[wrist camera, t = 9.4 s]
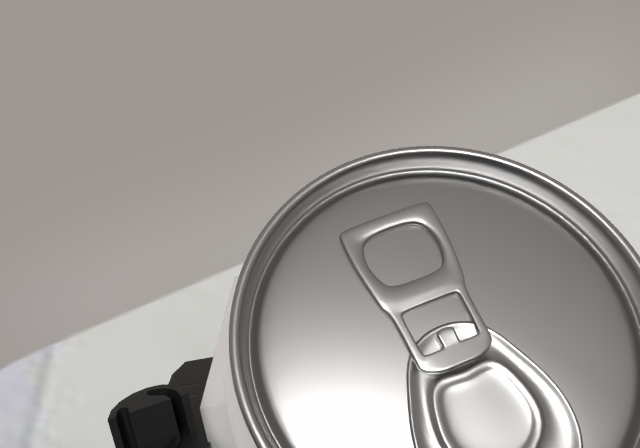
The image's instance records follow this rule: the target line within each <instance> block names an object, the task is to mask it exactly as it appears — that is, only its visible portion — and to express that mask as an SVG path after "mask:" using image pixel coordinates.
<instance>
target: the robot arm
mask: <svg viewBox="0 0 640 448" xmlns="http://www.w3.org/2000/svg"><path fill="white" fill-rule="evenodd" d="M238 278H239V277H235V278H234V282H233V285H232V289H231V293H230V297H229V300H228V304H227V308H226V312H225V316H224V319H223V323H222V327H221V331H220V334H219V338H218V342H217V346H216V349H215V353H214V357H211V358H205V359H199V360H193V361H187V362H185V363H184V364H183V365H182V366H181V367H180V368H179V369H178V370H177V371H176V372H174V373H173V374H172V377H171V379H170V382H169V384H168V385H158V386H153V387H149V388H145V389H143V390H141V391H138V392H136V393H133V394H131V395H130V396H128V397H127V398H125V399H123V400H122V401H120V402H119V403H118V404H117V405H116V406H115V407H114V408H113V409H112V410H111V412H110V415H109V418H108V423H109V426H110V429H111V433H112V436H113V440H114V443H115V447H116V448H236V445H235V442H234V439H233V436H232V432H231V428H230V424H229V420H228V415H227V409H226V403H225V394H224V356H225V347H226V340H227V335H228V330H229V322H230V313H231V306H232V301H233V296H234V292H235V288H236V285H237V281H238Z"/></svg>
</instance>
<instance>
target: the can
mask: <svg viewBox="0 0 640 448" xmlns="http://www.w3.org/2000/svg"><path fill="white" fill-rule="evenodd" d="M224 394H225V403H226V409H227V415H228V420H229V424H230V428H231V432H232V436H233V439H234V442H235V445H236V448H640V257H639V255H638V254H637V252H636V251H635V250H634V248H633V247H632V246H631V245H630V243H629V242H628V241H627V240H626V238H625V237H624V236H623V235H622V234H621V233H620V231H619V230H618V229H617V228H616V227H615V226H614V225H613V224H612V223H611V222H610V221H609V220H608V219H607V218H606V217H605V216H604V215H603V214H602V213H601V212H599V211H598V210H597V209H596V208H595V207H594V206H592V205H591V204H590V203H589V202H587V201H586V200H585V199H584V198H582V197H581V196H580V195H578V194H577V193H575V192H574V191H572V190H571V189H570V188H568V187H566V186H565V185H563V184H562V183H560V182H558V181H556V180H555V179H553V178H551V177H549V176H547V175H546V174H544V173H542V172H540V171H537V170H535V169H533V168H531V167H529V166H526V165H524V164H521V163H519V162H516V161H513V160H510V159H507V158H504V157H501V156H498V155H494V154H490V153H485V152H481V151H476V150H471V149H464V148H456V147H442V146H419V147H406V148H398V149H392V150H387V151H382V152H378V153H374V154H370V155H367V156H363V157H360V158H358V159H355V160H352V161H350V162H347V163H345V164H342V165H340V166H338V167H336V168H334V169H332V170H330V171H328V172H326V173H325V174H323V175H321V176H319V177H318V178H316V179H315V180H313V181H312V182H310V183H309V184H307V185H306V186H305V187H303V188H302V189H301V190H300V191H298V192H297V193H296V194H295V195H294V196H292V197H291V198H290V199H289V200H288V201H287V202H286V203H285V204H284V205H283V206H282V207H281V208H280V209H279V210H278V211H277V212H276V214H275V215H274V216H273V217H272V218H271V219H270V221H269V222H268V223H267V224H266V226H265V227H264V229H263V230H262V232H261V233H260V235H259V236H258V238H257V239H256V241H255V243H254V245H253V246H252V248H251V250H250V252H249V254H248V256H247V258H246V260H245V262H244V265H243V267H242V270H241V272H240V275H239V278H238V281H237V285H236V288H235V292H234V296H233V301H232V306H231V313H230V322H229V330H228V335H227V340H226V347H225V356H224Z"/></svg>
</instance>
